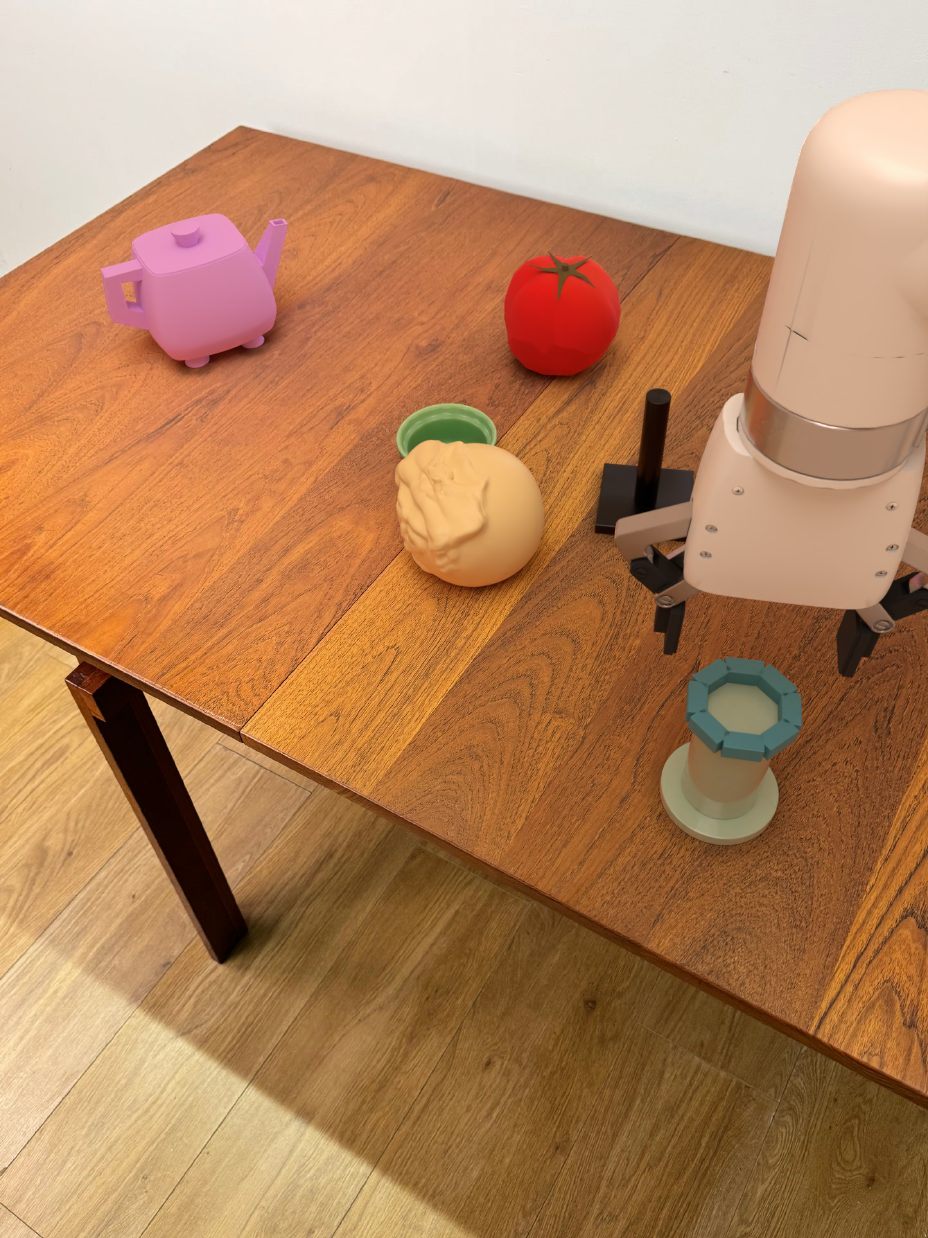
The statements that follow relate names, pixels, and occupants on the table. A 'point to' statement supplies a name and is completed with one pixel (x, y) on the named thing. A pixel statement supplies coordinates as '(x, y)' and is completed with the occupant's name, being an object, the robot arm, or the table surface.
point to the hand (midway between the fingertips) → (755, 646)
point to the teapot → (198, 286)
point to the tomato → (561, 314)
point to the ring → (738, 742)
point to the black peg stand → (643, 473)
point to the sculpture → (468, 511)
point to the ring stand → (723, 774)
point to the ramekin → (445, 427)
